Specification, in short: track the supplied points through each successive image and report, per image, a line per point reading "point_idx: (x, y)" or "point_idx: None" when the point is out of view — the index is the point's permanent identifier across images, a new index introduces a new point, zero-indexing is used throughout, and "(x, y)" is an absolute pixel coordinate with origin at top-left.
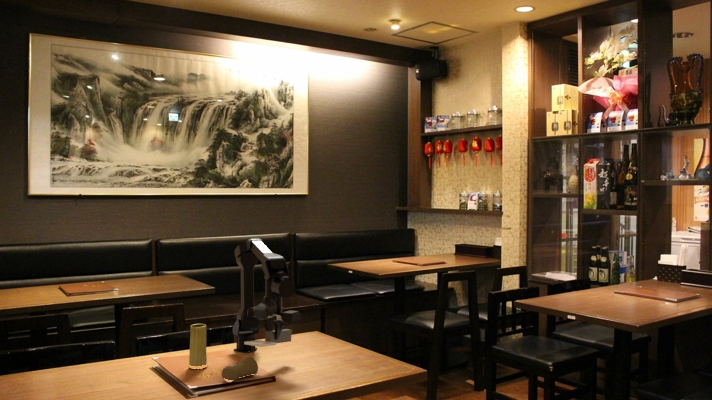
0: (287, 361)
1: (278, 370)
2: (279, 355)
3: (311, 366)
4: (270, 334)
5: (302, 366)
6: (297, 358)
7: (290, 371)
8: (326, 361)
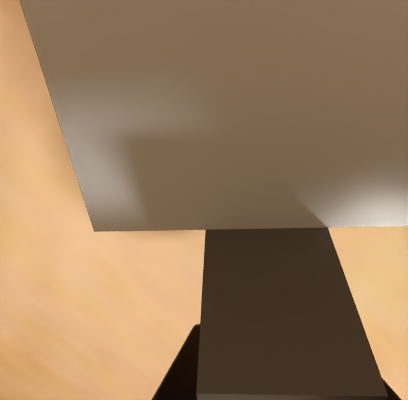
0: None
1: None
2: None
3: (61, 290)
4: (223, 333)
5: (99, 269)
6: None
7: None
8: (74, 375)
